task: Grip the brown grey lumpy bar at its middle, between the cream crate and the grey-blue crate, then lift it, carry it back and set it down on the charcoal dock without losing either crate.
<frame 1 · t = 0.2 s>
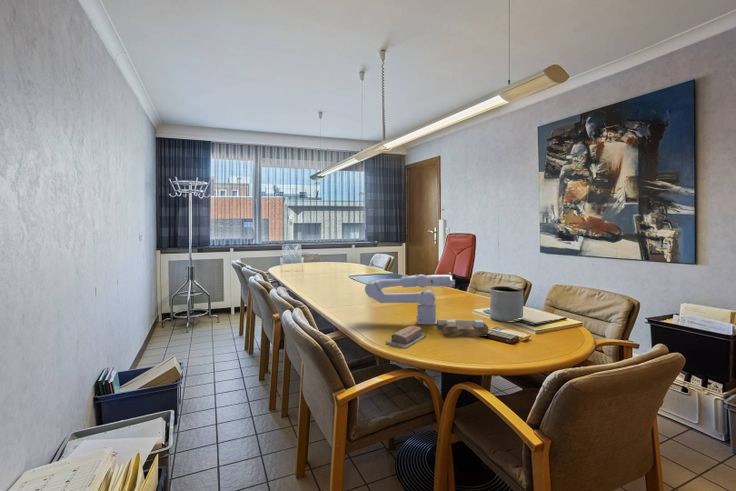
hand: (468, 280, 179), 21 cm above the table, tool horizontal, fingers open, 7 cm apart
crate cream: (451, 327, 164), point 3 cm above the table, touching brown grey lumpy bar
crate greyblue: (478, 327, 163), point 3 cm above the table, touching brown grey lumpy bar
planter: (506, 319, 189), on the table
dock: (461, 326, 175), on the table
brown grey lumpy bar: (464, 335, 164), on the table, touching crate cream, crate greyblue
packaged product: (406, 341, 157), on the table
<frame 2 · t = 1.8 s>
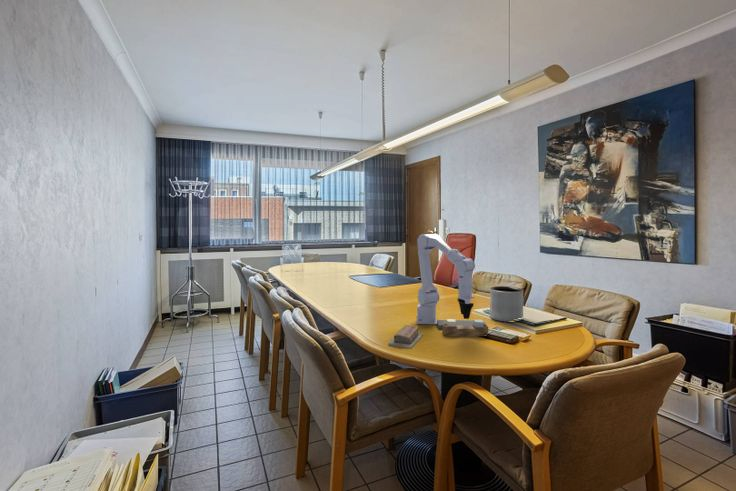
hand: (465, 316, 163), 8 cm above the table, tool pointing down, fingers open, 7 cm apart
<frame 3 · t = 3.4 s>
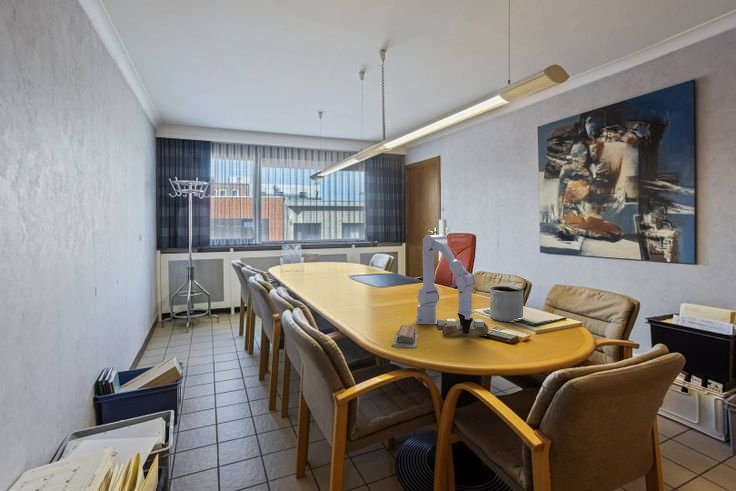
hand: (464, 331, 164), 1 cm above the table, tool pointing down, fingers closed on brown grey lumpy bar, 5 cm apart
brown grey lumpy bar: (464, 334, 164), on the table, touching crate cream, crate greyblue, gripper
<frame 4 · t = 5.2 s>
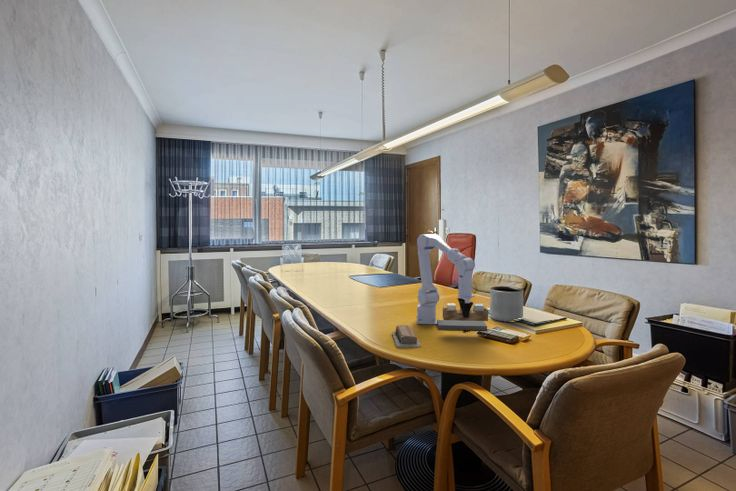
hand: (464, 315, 164), 8 cm above the table, tool pointing down, fingers closed on brown grey lumpy bar, 5 cm apart
crate cream: (451, 311, 164), point 10 cm above the table, touching brown grey lumpy bar
crate greyblue: (478, 311, 163), point 10 cm above the table, touching brown grey lumpy bar
brown grey lumpy bar: (464, 318, 164), point 7 cm above the table, touching crate cream, crate greyblue, gripper
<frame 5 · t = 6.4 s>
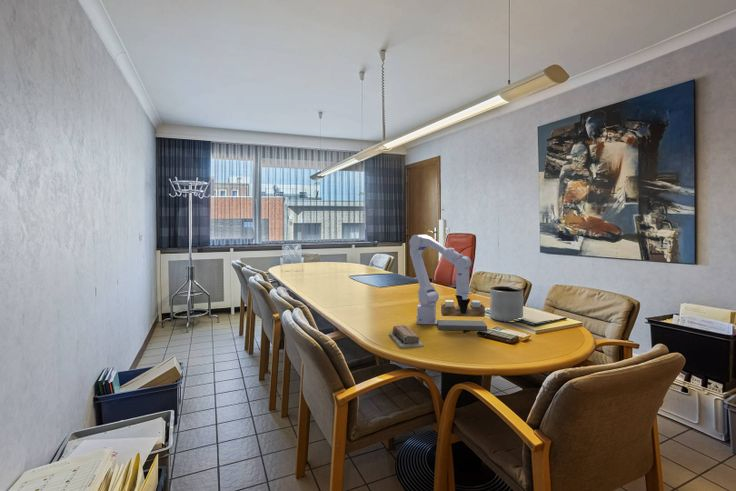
hand: (462, 311, 171), 8 cm above the table, tool pointing down, fingers closed on brown grey lumpy bar, 5 cm apart
crate cream: (449, 307, 171), point 10 cm above the table, touching brown grey lumpy bar
crate greyblue: (475, 307, 170), point 10 cm above the table, touching brown grey lumpy bar
brown grey lumpy bar: (462, 314, 171), point 7 cm above the table, touching crate cream, crate greyblue, gripper
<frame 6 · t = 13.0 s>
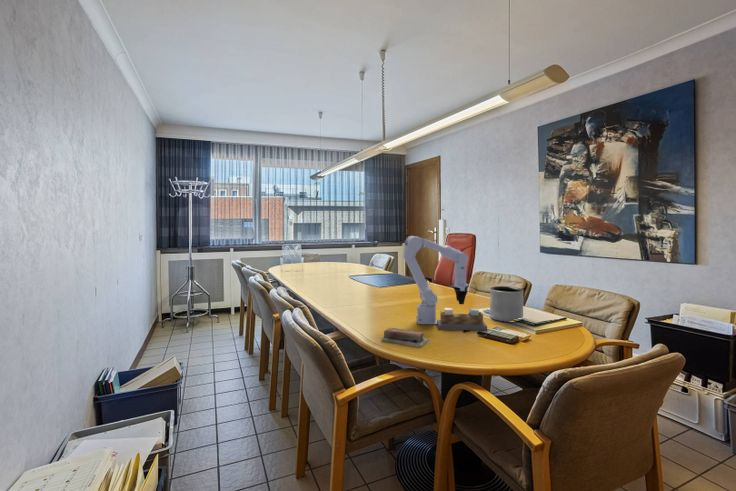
hand: (460, 302, 185), 9 cm above the table, tool pointing down, fingers open, 7 cm apart
crate cream: (448, 315, 176), point 5 cm above the table, touching brown grey lumpy bar
crate greyblue: (474, 315, 174), point 5 cm above the table, touching brown grey lumpy bar
brown grey lumpy bar: (461, 322, 175), point 2 cm above the table, touching crate cream, crate greyblue, dock
at the end: brown grey lumpy bar 0.1 cm off-centre on the dock, point 2.0 cm above the dock's base; crate cream 0.2 cm from the target spot on the brown grey lumpy bar, point 3.5 cm above the brown grey lumpy bar's base; crate greyblue 0.2 cm from the target spot on the brown grey lumpy bar, point 3.5 cm above the brown grey lumpy bar's base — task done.
